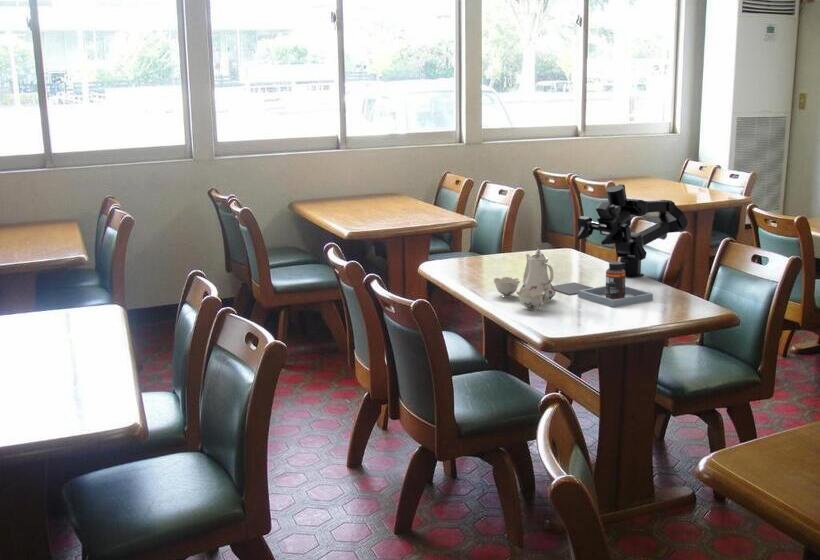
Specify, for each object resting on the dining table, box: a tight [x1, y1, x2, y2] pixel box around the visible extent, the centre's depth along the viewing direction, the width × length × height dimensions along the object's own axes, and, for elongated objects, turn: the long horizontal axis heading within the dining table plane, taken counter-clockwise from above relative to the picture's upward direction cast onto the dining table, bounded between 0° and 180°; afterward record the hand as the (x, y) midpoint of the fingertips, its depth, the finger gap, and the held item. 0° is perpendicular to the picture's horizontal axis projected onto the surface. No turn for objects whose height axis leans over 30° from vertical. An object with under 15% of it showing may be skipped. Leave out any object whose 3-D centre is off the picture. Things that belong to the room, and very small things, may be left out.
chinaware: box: [493, 248, 556, 311], centre depth 274 cm, size 28×17×17 cm, turn 23°
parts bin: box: [577, 285, 654, 308], centre depth 277 cm, size 16×16×2 cm
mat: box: [552, 282, 594, 296], centre depth 290 cm, size 12×12×1 cm
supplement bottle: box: [604, 261, 626, 300], centre depth 276 cm, size 6×6×11 cm
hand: (589, 240), depth 290 cm, fingers open, 9 cm apart
